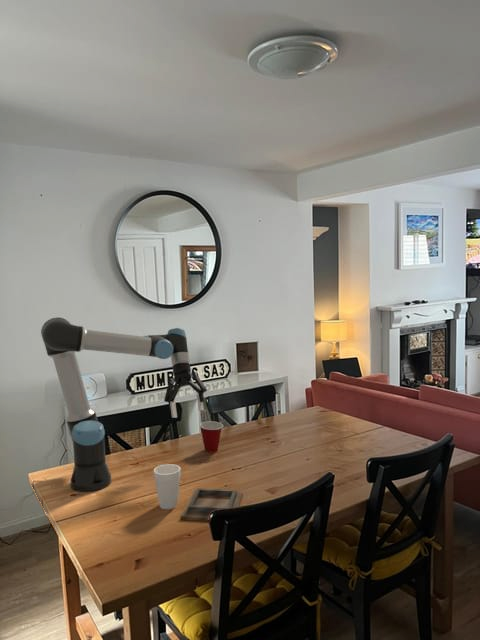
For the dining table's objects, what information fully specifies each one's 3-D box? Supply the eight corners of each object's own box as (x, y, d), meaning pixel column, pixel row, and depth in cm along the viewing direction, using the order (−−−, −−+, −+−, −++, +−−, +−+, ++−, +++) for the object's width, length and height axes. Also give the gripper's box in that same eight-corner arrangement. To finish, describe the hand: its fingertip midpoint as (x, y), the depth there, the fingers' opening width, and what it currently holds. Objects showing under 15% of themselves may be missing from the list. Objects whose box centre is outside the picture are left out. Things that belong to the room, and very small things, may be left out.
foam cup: (184, 499, 189) (183, 464, 187) (179, 511, 180) (177, 474, 178) (158, 498, 190) (157, 464, 188) (151, 510, 180) (150, 474, 179)
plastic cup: (220, 454, 232) (220, 428, 230) (197, 453, 234) (196, 427, 233) (226, 446, 242) (225, 421, 241) (203, 445, 244) (202, 420, 243)
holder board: (180, 519, 174) (180, 510, 173) (194, 493, 193) (194, 484, 193) (234, 522, 171) (234, 512, 171) (242, 495, 191) (242, 486, 191)
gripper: (210, 357, 221) (217, 407, 214) (163, 372, 231) (169, 420, 225) (200, 355, 214) (207, 406, 208) (152, 370, 225) (158, 420, 219)
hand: (187, 414), depth 216 cm, fingers open, 13 cm apart
